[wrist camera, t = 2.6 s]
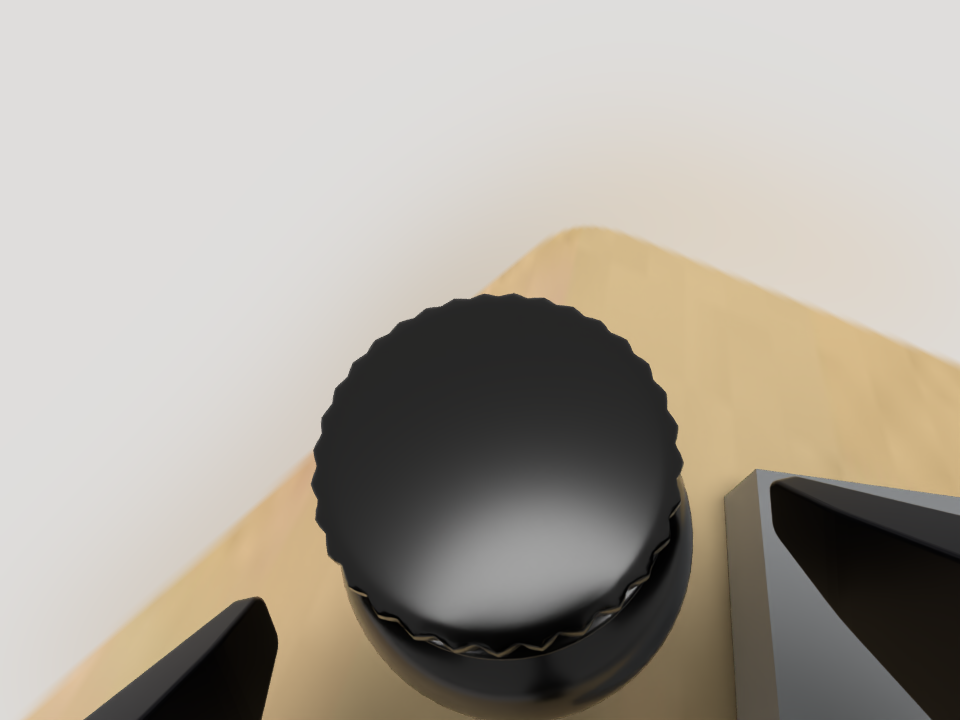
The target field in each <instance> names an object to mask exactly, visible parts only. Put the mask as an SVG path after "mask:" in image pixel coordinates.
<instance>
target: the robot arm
mask: <svg viewBox="0 0 960 720" xmlns="http://www.w3.org/2000/svg"><path fill="white" fill-rule="evenodd" d="M770 503H771V515H772V524H773V528H774V531H775V533H776V535H777V537H778V538H779V540H780V541H781V542H782V543H783V545H784V546H785V547H786V549H787V550H788V551H789V553H790V554H791V555H792V557H793V558H794V559H795V561H796V562H797V563H798V565H799V566H800V567H801V569H802V570H803V571H804V573H805V574H806V575H807V577H808V578H809V579H810V580H811V582H812V583H813V584H814V586H815V587H816V588H817V590H818V591H819V592H820V594H821V595H822V596H823V598H824V599H825V600H826V602H827V603H828V604H829V606H830V607H831V608H832V609H833V611H834V612H835V613H836V614H837V615H838V617H839V618H840V619H841V620H842V621H843V623H844V624H845V625H846V626H847V627H848V628H849V629H850V631H851V632H852V633H853V634H854V635H855V636H856V637H857V638H858V639H859V641H860V642H861V643H862V644H863V645H864V646H865V647H866V648H867V649H868V650H869V652H870V653H871V654H872V655H873V656H874V657H875V658H876V659H877V660H878V661H879V663H880V664H881V665H882V666H883V667H884V668H885V669H886V670H887V671H888V672H889V674H890V675H891V676H892V677H893V678H894V679H895V680H896V681H897V682H898V683H899V685H900V686H901V687H902V688H903V689H904V690H905V691H906V692H907V693H908V694H909V695H910V697H911V698H912V699H913V700H914V701H915V702H916V703H917V704H918V705H919V706H920V708H921V709H922V710H923V711H924V712H925V713H926V714H927V715H928V716H929V717H930V719H931V720H960V515H957V514H953V513H948V512H944V511H940V510H936V509H932V508H927V507H923V506H919V505H915V504H911V503H907V502H902V501H898V500H894V499H890V498H886V497H882V496H877V495H873V494H869V493H865V492H861V491H856V490H852V489H848V488H844V487H840V486H836V485H831V484H827V483H823V482H819V481H815V480H811V479H806V478H802V477H797V476H792V477H788V478H784V479H779V480H775V481H773V482H772V483H771V484H770ZM277 650H278V636H277V632H276V630H275V627H274V625H273V622H272V619H271V617H270V614H269V612H268V609H267V606H266V604H265V602H264V600H263V599H262V598H260V597H252V598H247V599H243V600H238V601H236V602H234V603H232V604H231V605H230V606H229V607H227V608H226V609H225V610H224V611H222V612H221V613H220V614H218V615H217V616H216V617H215V618H213V619H212V620H211V621H209V622H208V623H207V624H206V625H204V626H203V627H202V628H200V629H199V630H198V631H197V632H195V633H194V634H193V635H192V636H190V637H189V638H188V639H186V640H185V641H184V642H183V643H181V644H180V645H179V646H177V647H176V648H175V649H174V650H172V651H171V652H170V653H168V654H167V655H166V656H165V657H163V658H162V659H161V660H160V661H158V662H157V663H156V664H154V665H153V666H152V667H151V668H149V669H148V670H147V671H145V672H144V673H143V674H142V675H140V676H139V677H138V678H136V679H135V680H134V681H133V682H131V683H130V684H129V685H128V686H126V687H125V688H124V689H122V690H121V691H120V692H119V693H117V694H116V695H115V696H113V697H112V698H111V699H110V700H108V701H107V702H106V703H104V704H103V705H102V706H101V707H99V708H98V709H97V710H96V711H94V712H93V713H92V714H90V715H89V716H88V717H87V718H85V719H84V720H262V716H263V711H264V707H265V703H266V698H267V694H268V690H269V685H270V681H271V677H272V672H273V668H274V664H275V659H276V655H277Z"/></svg>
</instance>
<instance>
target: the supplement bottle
mask: <svg viewBox="0 0 960 720" xmlns="http://www.w3.org/2000/svg"><path fill="white" fill-rule="evenodd" d="M321 429H322V434H321V436H320V438H319V440H318V441H317V443H316V445H315V448H314V450H313V451H314V458H315V461H316V465H317V467H316V470H315V473H314V475H313V479H312V482H311V486H312V489H313V491H314V493H315V495H316V497H317V499H318V503H317V508H316V517H315V520H316V522H317V523H318V525H319V527H320V528H321V529H322V530H323V531H324V532H325V533H326V546H327V553H328V556H329V557H330V558H331V559H332V560H333V561H334V562H335V563H337V564H338V565H340V566H341V571H342V575H343V580H344V585H345V588H346V591H347V595H348V598H349V601H350V604H351V606H352V609H353V611H354V613H355V616H356V618H357V620H358V622H359V624H360V626H361V628H362V629H363V631H364V633H365V635H366V637H367V638H368V640H369V641H370V643H371V644H372V645H373V647H374V648H375V650H376V651H377V653H378V654H379V655H380V656H381V658H382V659H383V660H384V661H385V662H386V663H387V665H388V666H389V667H390V668H391V669H392V670H393V671H394V672H395V673H396V674H397V675H398V676H399V677H400V678H401V679H403V680H404V681H405V682H406V683H407V684H408V685H410V686H411V687H412V688H414V689H415V690H416V691H418V692H419V693H421V694H422V695H423V696H425V697H427V698H429V699H430V700H432V701H434V702H436V703H437V704H439V705H441V706H443V707H446V708H448V709H450V710H452V711H455V712H457V713H460V714H463V715H466V716H470V717H473V718H476V719H480V720H555V719H559V718H563V717H566V716H569V715H572V714H575V713H578V712H581V711H584V710H586V709H588V708H590V707H592V706H594V705H596V704H598V703H600V702H602V701H604V700H605V699H607V698H608V697H610V696H611V695H613V694H615V693H616V692H618V691H619V690H620V689H622V688H623V687H624V686H625V685H626V684H628V683H629V682H630V681H631V680H633V679H634V678H635V677H636V676H637V675H638V674H639V673H640V672H641V671H642V670H643V669H644V668H645V666H646V665H647V664H648V663H649V662H650V661H651V660H652V658H653V657H654V656H655V654H656V653H657V652H658V650H659V649H660V648H661V646H662V645H663V643H664V641H665V640H666V638H667V636H668V635H669V633H670V631H671V630H672V628H673V625H674V623H675V621H676V619H677V617H678V614H679V612H680V610H681V607H682V604H683V600H684V597H685V594H686V591H687V587H688V582H689V577H690V573H691V564H692V554H693V529H692V519H691V511H690V506H689V501H688V496H687V492H686V489H685V485H684V482H683V479H682V476H681V474H680V473H681V471H682V468H683V464H684V462H683V459H682V457H681V454H680V452H679V450H678V449H677V446H676V444H675V443H676V439H677V434H678V425H677V423H676V422H675V420H674V418H673V417H672V416H671V414H670V413H669V412H668V410H667V394H666V392H665V391H664V390H663V389H662V388H661V387H660V386H659V385H658V384H657V383H656V382H655V381H654V380H653V377H652V372H651V369H650V366H649V364H648V363H647V362H646V361H644V360H643V359H642V358H640V357H638V356H637V355H635V354H634V353H633V351H632V349H631V346H630V344H629V343H628V341H627V340H626V339H624V338H622V337H620V336H618V335H615V334H613V333H611V332H610V331H609V330H608V329H607V327H606V326H605V325H604V324H603V323H602V322H601V321H600V320H596V319H593V318H589V317H585V316H583V315H582V314H581V313H580V312H579V311H578V310H577V309H575V308H574V307H570V306H562V305H556V304H554V303H552V302H551V301H549V300H547V299H546V298H525V297H523V296H521V295H518V294H515V293H513V294H508V295H503V296H493V295H489V294H482V295H479V296H476V297H474V298H471V299H453V300H451V301H450V302H448V303H446V304H444V305H443V306H441V307H432V308H426V309H425V310H423V312H421V313H420V314H419V315H417V316H416V317H415V318H413V319H410V320H406V321H402V322H399V324H397V326H395V328H394V329H393V330H392V331H391V332H390V333H389V334H388V335H386V336H383V337H381V338H379V339H377V340H375V341H374V342H373V344H372V345H371V347H370V349H369V351H368V352H367V353H366V354H365V355H364V356H362V357H360V358H359V359H358V360H356V361H355V362H353V364H352V367H351V369H350V371H349V374H348V377H347V378H346V379H345V380H344V381H343V382H342V383H340V384H339V385H338V386H337V387H336V388H335V391H334V395H333V402H332V405H331V406H330V407H329V409H328V410H327V411H326V412H325V414H324V415H323V417H322V421H321Z"/></svg>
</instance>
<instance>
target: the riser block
mask: <svg viewBox="0 0 960 720" xmlns="http://www.w3.org/2000/svg"><path fill="white" fill-rule="evenodd" d="M792 476H797V477H802V478H806V479H811V480H815V481H819V482H823V483H827V484H831V485H836V486H840V487H844V488H848V489H852V490H856V491H861V492H865V493H869V494H873V495H877V496H882V497H886V498H890V499H894V500H898V501H902V502H907V503H911V504H915V505H919V506H923V507H927V508H932V509H936V510H940V511H944V512H948V513H953V514H957V515H960V497H953V496H946V495H938V494H931V493H924V492H917V491H910V490H903V489H896V488H888V487H881V486H874V485H867V484H860V483H853V482H846V481H839V480H831V479H824V478H817V477H810V476H803V475H796V474H789V473H781V472H774V471H767V470H760V469H755V470H754V471H753V472H752V473H751V474H750V475H749V476H747V477H746V478H745V479H744V480H743V481H742V482H741V483H739V484H738V485H737V486H736V487H735V488H734V489H733V490H731V491H730V492H729V493H728V494H727V495H726V496H725V497H724V500H725V517H726V534H727V551H728V569H729V586H730V603H731V620H732V637H733V654H734V672H735V689H736V706H737V720H931V719H930V717H929V716H928V715H927V714H926V713H925V712H924V711H923V710H922V709H921V708H920V706H919V705H918V704H917V703H916V702H915V701H914V700H913V699H912V698H911V697H910V695H909V694H908V693H907V692H906V691H905V690H904V689H903V688H902V687H901V686H900V685H899V683H898V682H897V681H896V680H895V679H894V678H893V677H892V676H891V675H890V674H889V672H888V671H887V670H886V669H885V668H884V667H883V666H882V665H881V664H880V663H879V661H878V660H877V659H876V658H875V657H874V656H873V655H872V654H871V653H870V652H869V650H868V649H867V648H866V647H865V646H864V645H863V644H862V643H861V642H860V641H859V639H858V638H857V637H856V636H855V635H854V634H853V633H852V632H851V631H850V629H849V628H848V627H847V626H846V625H845V624H844V623H843V621H842V620H841V619H840V618H839V617H838V615H837V614H836V613H835V612H834V611H833V609H832V608H831V607H830V606H829V604H828V603H827V602H826V600H825V599H824V598H823V596H822V595H821V594H820V592H819V591H818V590H817V588H816V587H815V586H814V584H813V583H812V582H811V580H810V579H809V578H808V577H807V575H806V574H805V573H804V571H803V570H802V569H801V567H800V566H799V565H798V563H797V562H796V561H795V559H794V558H793V557H792V555H791V554H790V553H789V551H788V550H787V549H786V547H785V546H784V545H783V543H782V542H781V541H780V540H779V538H778V537H777V535H776V533H775V531H774V528H773V524H772V515H771V503H770V484H771V483H772V482H773V481H775V480H779V479H784V478H788V477H792Z"/></svg>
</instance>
